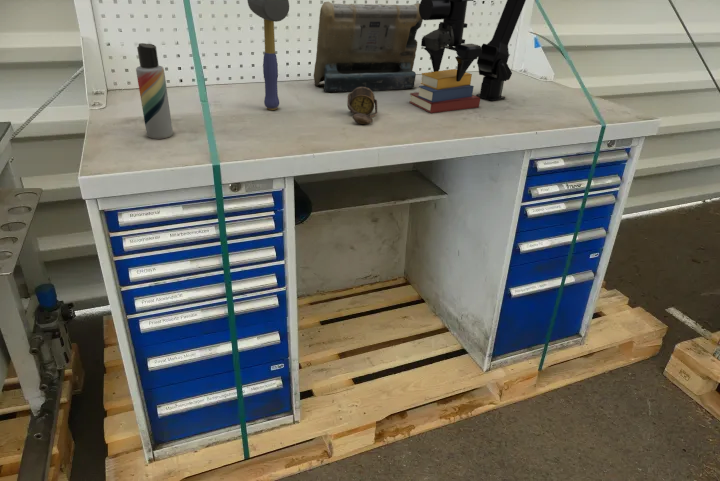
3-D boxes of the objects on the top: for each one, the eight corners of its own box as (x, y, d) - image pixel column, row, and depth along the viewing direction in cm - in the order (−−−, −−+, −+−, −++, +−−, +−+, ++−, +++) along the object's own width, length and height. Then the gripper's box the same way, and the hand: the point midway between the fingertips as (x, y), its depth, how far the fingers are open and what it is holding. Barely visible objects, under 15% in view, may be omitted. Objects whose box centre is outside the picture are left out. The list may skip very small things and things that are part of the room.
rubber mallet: (293, 114, 139) (291, -11, 123) (266, 117, 135) (261, -11, 120) (276, 101, 148) (273, -17, 133) (251, 104, 145) (244, -17, 129)
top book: (453, 79, 156) (454, 68, 155) (470, 84, 152) (471, 74, 150) (420, 83, 150) (421, 73, 148) (437, 89, 145) (438, 78, 143)
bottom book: (455, 97, 161) (457, 88, 159) (478, 107, 153) (480, 97, 151) (409, 102, 154) (410, 92, 152) (430, 113, 145) (431, 103, 144)
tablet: (401, 78, 178) (408, -3, 165) (421, 89, 167) (431, 3, 155) (310, 84, 166) (310, -3, 153) (326, 96, 155) (327, 4, 143)
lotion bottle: (150, 130, 123) (135, 40, 113) (175, 131, 123) (163, 41, 113) (144, 139, 118) (128, 46, 108) (170, 139, 119) (156, 47, 108)
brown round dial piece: (390, 93, 140) (356, 80, 142) (376, 101, 129) (339, 86, 131) (382, 119, 144) (349, 106, 145) (367, 128, 133) (332, 114, 134)
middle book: (457, 91, 156) (458, 80, 155) (472, 96, 152) (473, 86, 150) (417, 96, 149) (418, 86, 147) (432, 102, 144) (433, 91, 143)
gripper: (409, 15, 144) (404, 73, 152) (456, 26, 131) (448, 88, 139) (439, 13, 150) (432, 69, 158) (487, 23, 137) (478, 84, 145)
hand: (446, 77), depth 150 cm, fingers open, 9 cm apart
